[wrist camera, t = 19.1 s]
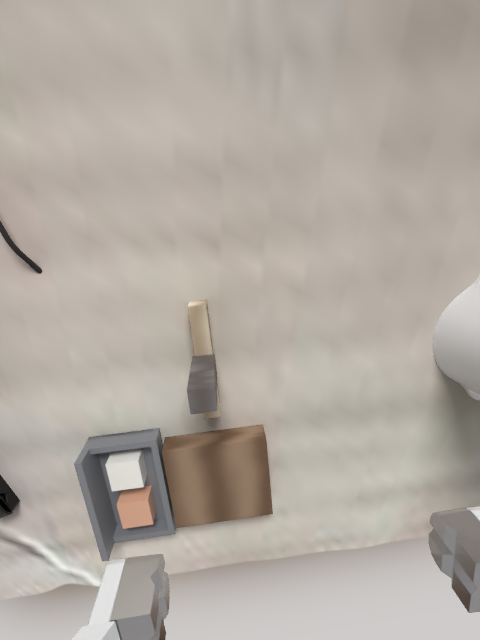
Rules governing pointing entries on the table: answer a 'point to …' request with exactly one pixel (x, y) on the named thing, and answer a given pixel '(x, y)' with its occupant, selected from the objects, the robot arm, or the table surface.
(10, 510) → the portable electronic device stand
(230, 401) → the table surface
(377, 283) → the table surface
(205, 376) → the grey block with handle
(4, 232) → the glasses
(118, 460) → the tile
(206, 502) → the brown square slab
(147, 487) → the tile
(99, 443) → the box
